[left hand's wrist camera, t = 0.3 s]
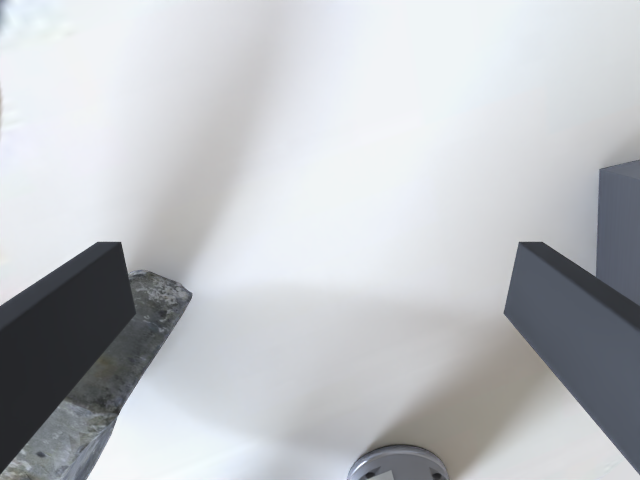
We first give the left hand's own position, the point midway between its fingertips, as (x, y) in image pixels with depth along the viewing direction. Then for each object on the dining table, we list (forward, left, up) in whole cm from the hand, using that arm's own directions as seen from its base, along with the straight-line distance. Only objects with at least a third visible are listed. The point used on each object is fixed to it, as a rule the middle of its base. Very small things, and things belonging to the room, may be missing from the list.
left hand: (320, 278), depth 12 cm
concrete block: (-24, +23, -27) cm, 43 cm away
